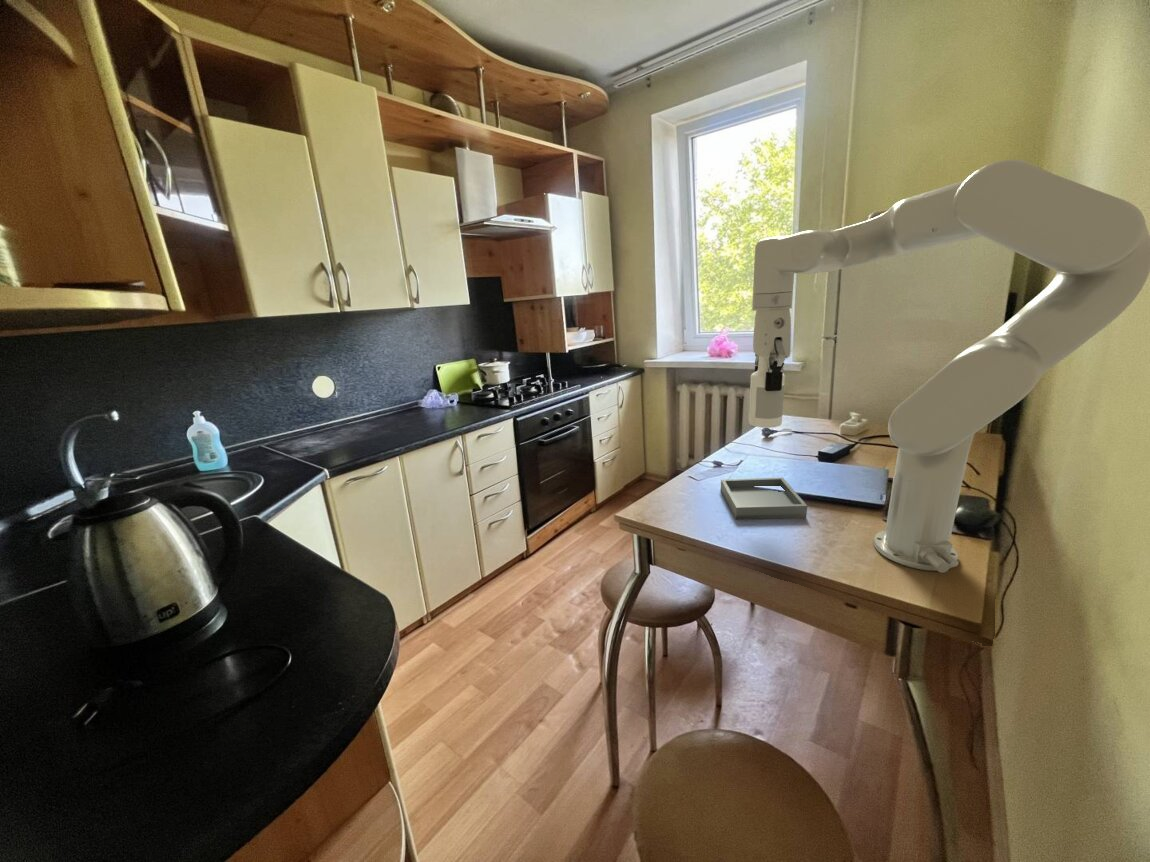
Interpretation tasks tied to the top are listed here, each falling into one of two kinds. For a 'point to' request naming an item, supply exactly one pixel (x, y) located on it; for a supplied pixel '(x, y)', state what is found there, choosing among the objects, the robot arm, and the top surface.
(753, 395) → the spray bottle
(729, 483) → the tray
